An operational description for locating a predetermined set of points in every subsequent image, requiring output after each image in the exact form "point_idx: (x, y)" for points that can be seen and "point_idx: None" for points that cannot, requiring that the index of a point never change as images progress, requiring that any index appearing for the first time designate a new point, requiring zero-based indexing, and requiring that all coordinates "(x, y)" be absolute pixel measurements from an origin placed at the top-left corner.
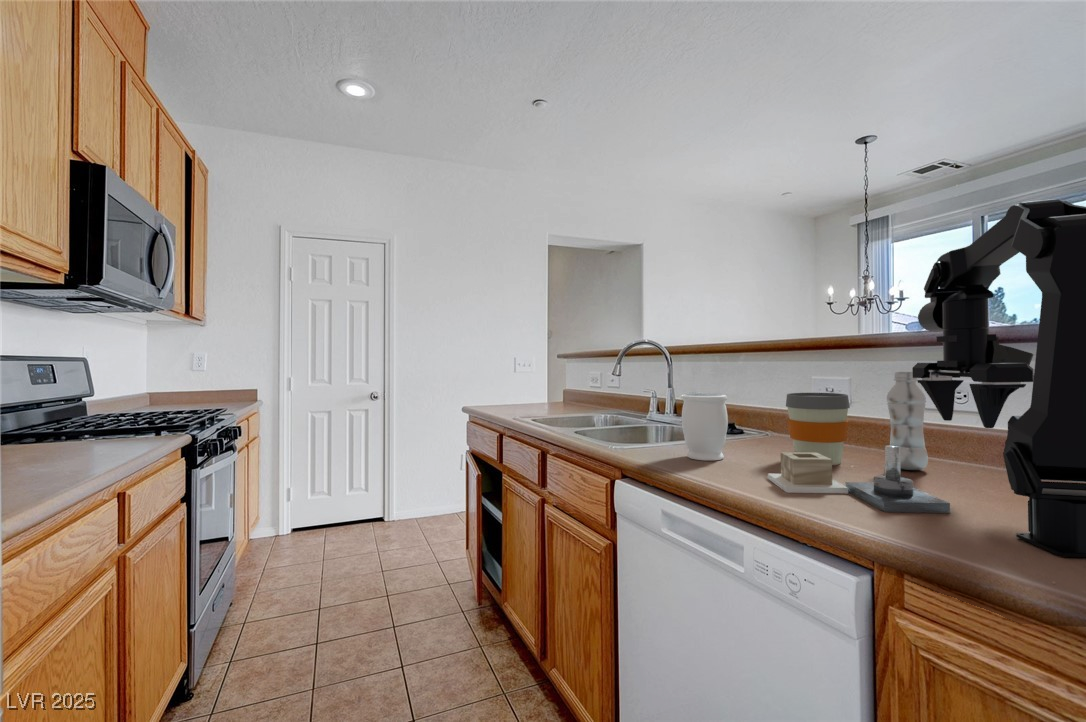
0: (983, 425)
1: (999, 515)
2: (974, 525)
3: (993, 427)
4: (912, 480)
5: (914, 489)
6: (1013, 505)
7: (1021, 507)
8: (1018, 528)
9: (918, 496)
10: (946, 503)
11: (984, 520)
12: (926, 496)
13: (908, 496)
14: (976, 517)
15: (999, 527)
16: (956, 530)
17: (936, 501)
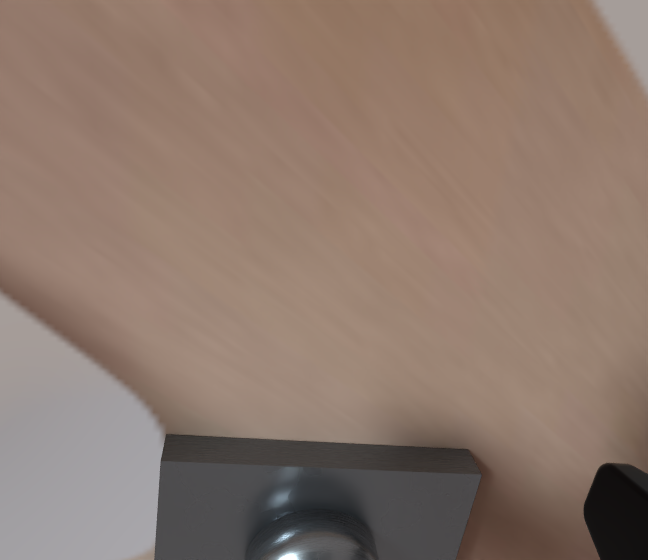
0: (591, 536)
1: (519, 312)
2: (581, 459)
3: (626, 464)
4: (345, 553)
5: (287, 478)
6: (418, 140)
7: (450, 133)
8: (637, 363)
9: (385, 518)
10: (478, 482)
11: (551, 400)
12: (389, 494)
13: (380, 547)
14: (520, 401)
15: (614, 407)
16: None
17: (454, 500)
